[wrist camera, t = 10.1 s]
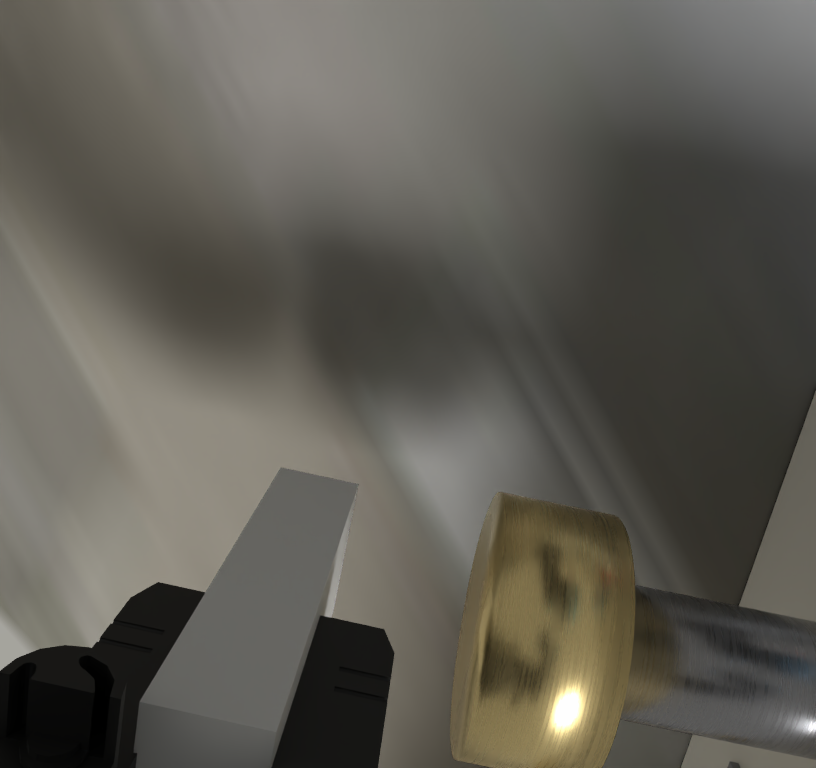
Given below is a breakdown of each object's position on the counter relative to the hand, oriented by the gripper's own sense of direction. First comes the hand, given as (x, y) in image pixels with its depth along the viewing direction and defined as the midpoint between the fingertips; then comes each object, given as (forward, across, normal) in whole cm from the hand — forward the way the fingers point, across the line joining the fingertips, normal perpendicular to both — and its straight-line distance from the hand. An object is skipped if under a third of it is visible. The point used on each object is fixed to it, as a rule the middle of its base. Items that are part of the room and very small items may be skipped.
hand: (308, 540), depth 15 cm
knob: (+1, +8, 0) cm, 8 cm away
